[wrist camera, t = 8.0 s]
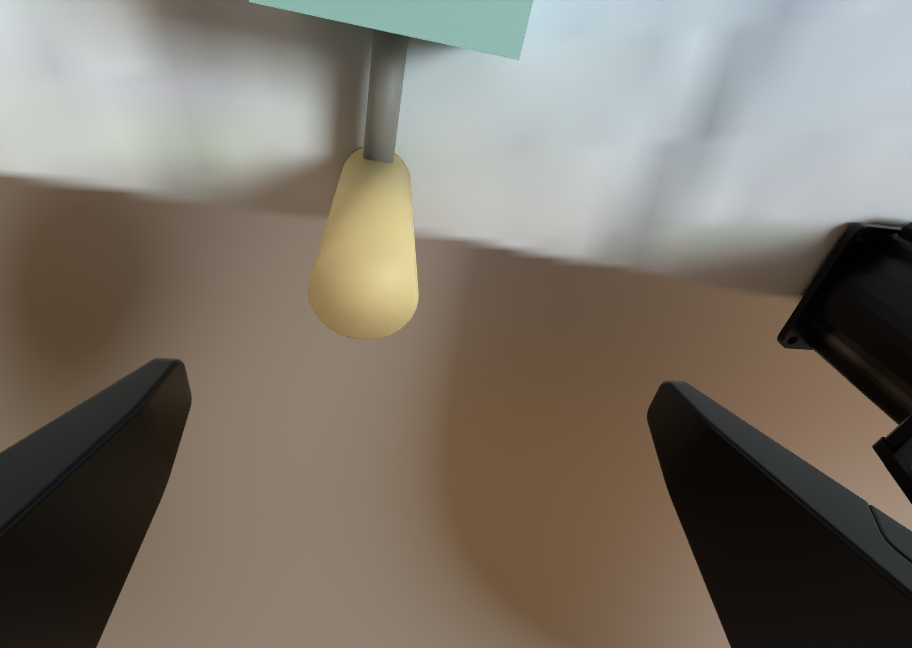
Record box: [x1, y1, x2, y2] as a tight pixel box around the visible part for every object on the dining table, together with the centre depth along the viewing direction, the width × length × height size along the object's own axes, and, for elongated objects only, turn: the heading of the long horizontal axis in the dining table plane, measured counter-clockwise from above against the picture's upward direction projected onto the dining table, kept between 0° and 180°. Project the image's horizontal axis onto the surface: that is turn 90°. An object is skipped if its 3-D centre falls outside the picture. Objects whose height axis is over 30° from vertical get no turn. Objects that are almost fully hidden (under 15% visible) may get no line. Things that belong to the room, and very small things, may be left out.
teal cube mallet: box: [249, 0, 533, 340], centre depth 12 cm, size 12×6×8 cm, turn 169°
